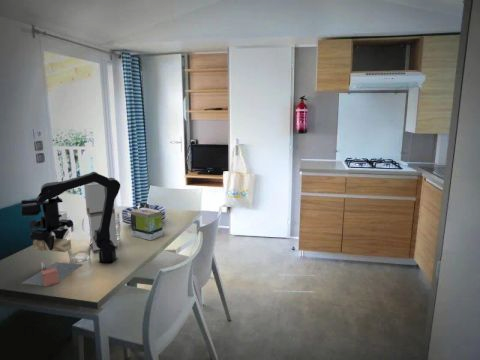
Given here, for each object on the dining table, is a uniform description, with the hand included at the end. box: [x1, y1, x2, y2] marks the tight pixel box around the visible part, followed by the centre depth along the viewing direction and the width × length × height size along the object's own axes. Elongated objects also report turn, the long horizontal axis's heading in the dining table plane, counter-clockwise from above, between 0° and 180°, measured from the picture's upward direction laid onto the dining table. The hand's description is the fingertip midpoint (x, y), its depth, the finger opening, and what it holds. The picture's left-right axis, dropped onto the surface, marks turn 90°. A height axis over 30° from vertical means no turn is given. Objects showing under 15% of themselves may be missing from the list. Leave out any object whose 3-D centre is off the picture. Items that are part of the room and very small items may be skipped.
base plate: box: [21, 261, 83, 287], centre depth 147 cm, size 14×20×1 cm
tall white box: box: [83, 182, 119, 254], centre depth 172 cm, size 11×11×35 cm
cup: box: [52, 209, 70, 239], centre depth 184 cm, size 8×8×16 cm
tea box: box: [130, 207, 164, 241], centre depth 191 cm, size 15×10×15 cm, turn 58°
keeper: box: [41, 267, 60, 287], centre depth 138 cm, size 4×5×6 cm
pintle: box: [40, 261, 47, 271], centre depth 148 cm, size 2×2×5 cm
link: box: [32, 238, 72, 253], centre depth 147 cm, size 15×5×4 cm, turn 78°
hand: (54, 248), depth 147 cm, fingers closed on link, 4 cm apart
